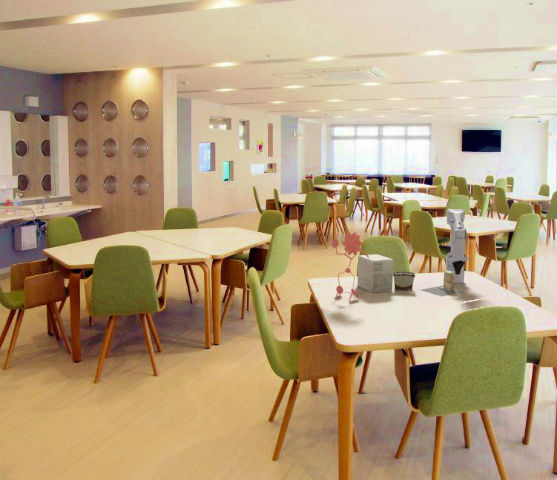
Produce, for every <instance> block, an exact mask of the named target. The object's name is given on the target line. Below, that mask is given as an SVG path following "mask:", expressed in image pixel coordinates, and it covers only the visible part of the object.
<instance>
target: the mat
mask: <svg viewBox="0 0 557 480" xmlns="http://www.w3.org/2000/svg"><path fill="white" fill-rule="evenodd" d="M420 291H422V292H425V293H429V294H432V295H436V296H440V297H445V296H446V297H447V296H452V295H456V294H462V293H465V291H463V290H459V289H455V288H454V290H450V289H446V288H443V285H439V286H433V287H429V288H428V287H427V288H423V289H420Z"/></svg>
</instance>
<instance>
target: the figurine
mask: <svg viewBox="0 0 557 480" xmlns="http://www.w3.org/2000/svg"><path fill="white" fill-rule="evenodd" d="M360 239H361V237H360V235H358V234H357V232H352V233H351V232H350V231H348V232H347V233H346V235H344V240H342V242H341V244H342V245H343V246H344V251H345V252H344V253H338V246H339V243H340V242H339V240H338V239H337V238H335V239H333V240H332V241H331V246H332V248H333V249H335V253H336V255H341V256H346V257H347V258H349V259H350V261H349V264H348V267H347V268H345V270H343V272H339V273H338V274H337V280H338V285H337V287H336V289H335V290H336V295H335V298H338V295H339V296H340V295H341V294H343V293H344V294H345V293H346V294H347V293H349V294H350V296H349V299H348V301H350V302H351V298H352V297H353V296H354V297H355V298H357V299H358V300H360V295H359V293H358V292H357V291H356V290H355V283H353V284H352V288H351V289H350V291H351V292H348V291H347V292H345V291H344V288H343V286H341V284H340V283H341V282H340V278H339V275H340V274H344V273H347V274H349V273H350V274H351V275H352V277H353V281H355V280H356V279H355V275H353V273H352V270H351V268H350V266H351V263H352V260H353V259H354V258H355V256H357V255H358V252H362V253H363V255H366V256H367V257H368V255H369V254H367V253H366V252H365V251H364V250H363V249H362V248H361V246H363V242H362V240H360ZM352 254H353V256H352V257H350V256H351V255H352ZM368 258H369V257H368ZM352 295H353V296H352ZM357 303H358V304H359V303H360V302H358V301H357Z"/></svg>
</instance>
